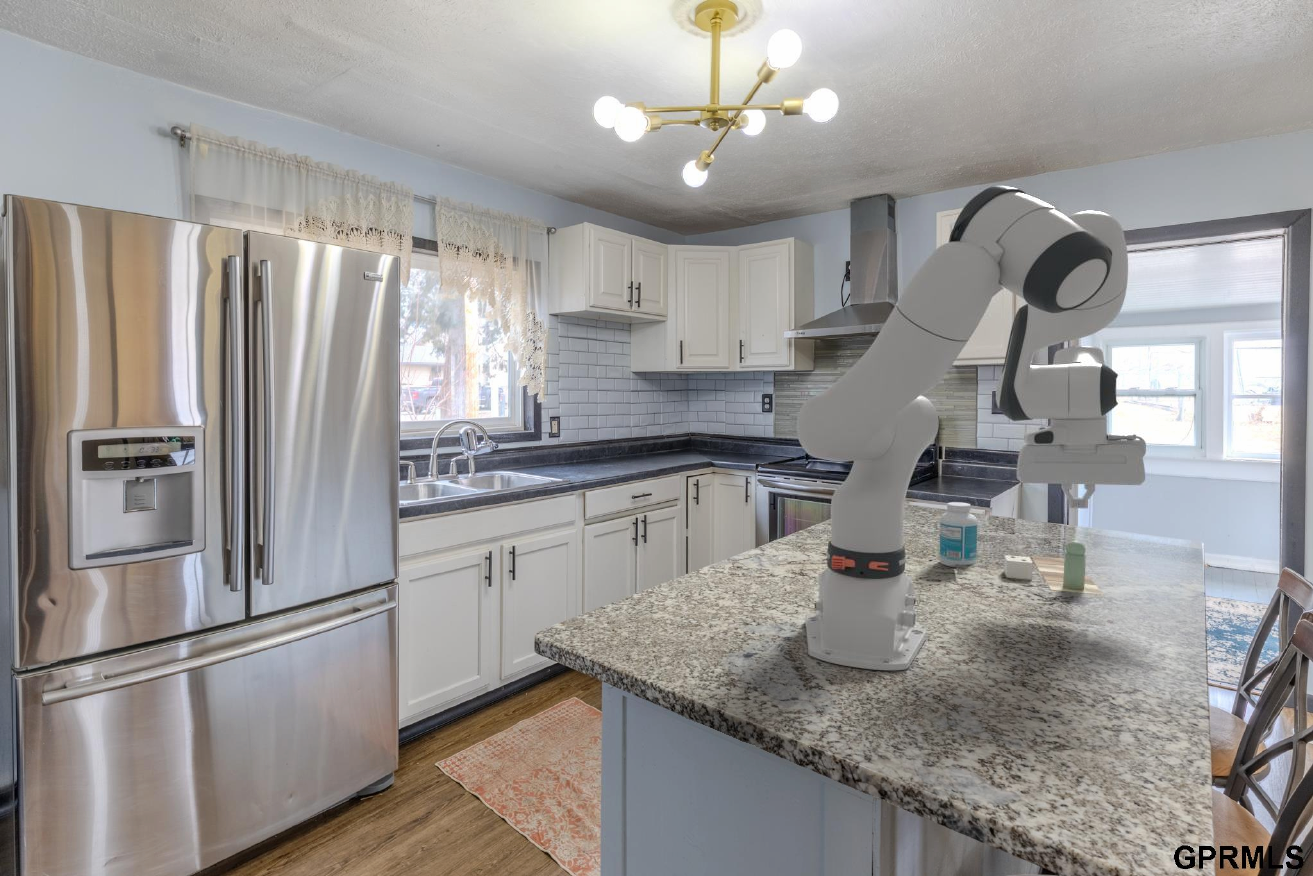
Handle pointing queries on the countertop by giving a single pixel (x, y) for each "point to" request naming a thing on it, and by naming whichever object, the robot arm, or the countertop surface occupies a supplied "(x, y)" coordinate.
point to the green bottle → (1074, 566)
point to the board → (1060, 575)
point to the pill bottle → (958, 535)
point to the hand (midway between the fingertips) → (1078, 507)
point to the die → (1018, 567)
